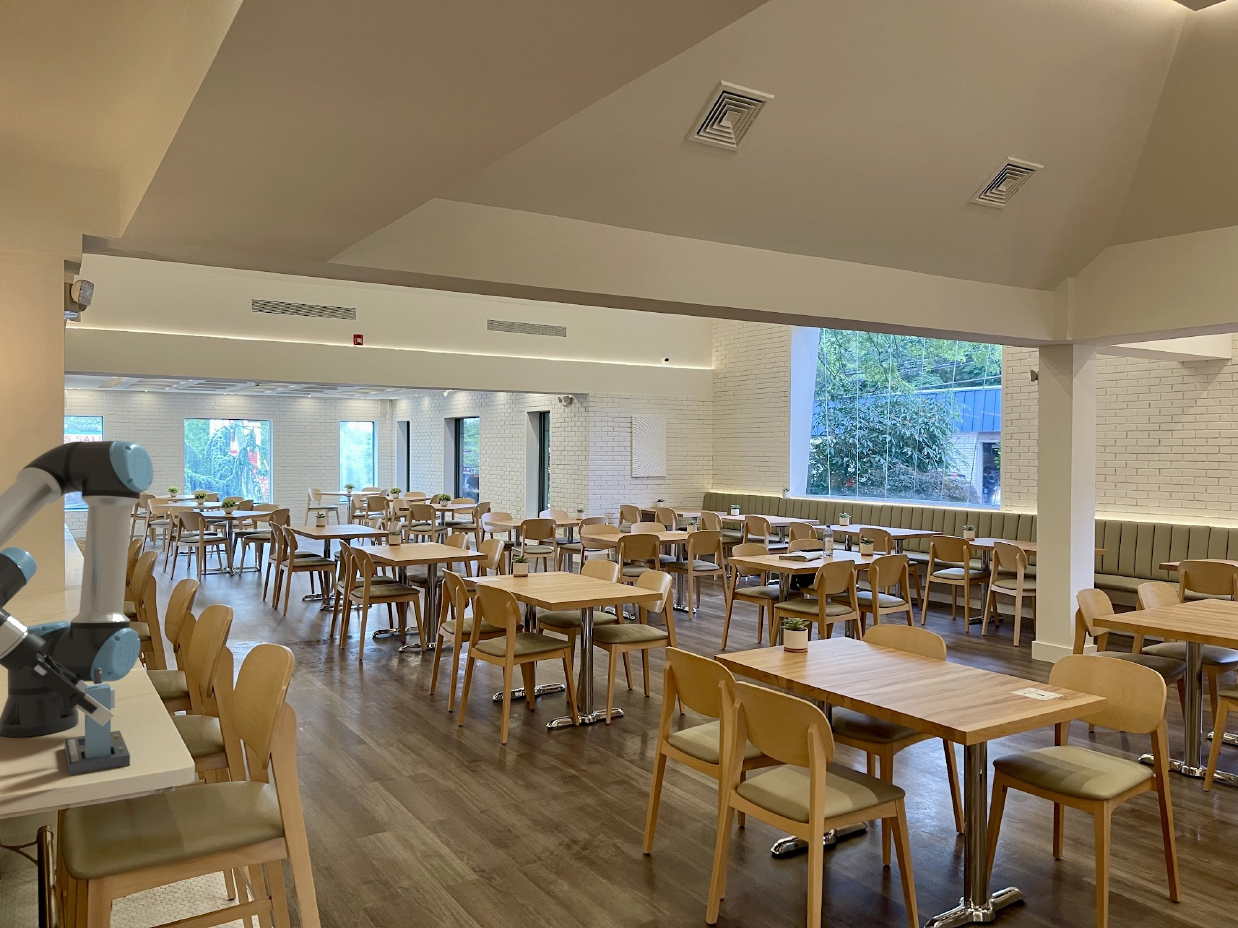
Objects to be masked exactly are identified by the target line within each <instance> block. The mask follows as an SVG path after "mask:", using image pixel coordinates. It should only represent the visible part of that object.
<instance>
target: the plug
mask: <svg viewBox="0 0 1238 928" xmlns="http://www.w3.org/2000/svg"><path fill="white" fill-rule="evenodd" d="M95 684H99V685H95ZM91 685H92V686H85V694H87V695H89V696H90V697H91V698H93V699H94V700H96V701H97V702H98V703H100V704H101V705H102V706H104V707H105V708H106V709H108V710H109V711H110V712H112V710H111V709H115V708H116V707H115V705H116V704H115V703H116V698H115V695H116V690H115V688H114V686H112V687H111V686H110V684H109V683H103V682H102V669H101V668H95V669H94V682H93V684H91ZM111 720H112V718H111V719H110V720H109V721H108V722H107V723H106V724H105V725H104V726H101V725H100V724H99V723H97V722H96V721H94V720H93V719H92V718H90V717H89V716H88V715H86V714H85V713H84V736H85V759H88V758H95V757H101V756H107V755H111V732H112V729H111V727H112V726H111V725H112V723H111Z"/></svg>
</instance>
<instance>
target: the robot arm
mask: <svg viewBox="0 0 1238 928" xmlns="http://www.w3.org/2000/svg"><path fill="white" fill-rule="evenodd" d="M15 479H16V481H15V482H14V483H12V484H11V485H10V487H8V488H7V489H6V490H5V491H3V493H2V494H1V495H0V550H1V549H2V548H3V547H4V546H5V545H6V543H8V542H9V541H10V540H11V539H12V538H13V537H14V536H15V535H17V533H18V532H19V531H20V530H21V529H22V528H23V527H24V526H25V525H27V524H28V522H29V521H31V519H33V517H35V516H36V515H37V513H39V512H40V511H41V510H42V509H43V508H44V507H45V506H47V504H53V503H55V502H57V501H58V500H59V499H60V498H61V497H62V496H64V495H67V494H70V493H77V492H78V493H81V500H82V501H83V502H84V503H85V504H86V505H87V507H88V508H87V519H86V531H85V532H86V533H85V540H84V541H85V542H84V544H85V545H84V554H83V564H82V565H83V568H82V578H81V590H80V601H79V613H78V614H77V615H75V617H73V618H72V619H71V620H70V622H69V621H68V620H61V621H59V620H58V621H51V622H45V623H38V624H35V625H34V624H33V625H28V626H27V625H26V624H24V623H23V622H21V620H19V619H18V618H17V617H15V616H13V615H12V614H11V613H9V612H8V611H7V610H5V609H4V608H3V607H5V606H6V604H7V603H8V602H9V601H11V600H12V598H14V596H16V594H18V593H19V592H20V590H22V588H23V587H26V586H27V584H28V583H29V581H30V580H31V579H32V578H33V576H34V575H35V574H36V572H37V569H38V568H37V567H38V566H37V565H38V564H37V562H36V560H35V559H34V557H33V556H32V554H31V553H29V552H28V551H27V550H24V549H23V548H20V547H16V546H8V547H6V548H3V549H2V550H1V551H0V666H2V667H4V668H5V669H6V670H7V698H6V701H5V703H4V706H3V708H2V711H1V714H0V736H3V737H10V738H15V737H16V738H21V737H33V736H35V737H36V736H41V735H47V734H48V733H49V734H53V733H57V732H62V731H65V730H67V729H70V728H73V727H76V725H78V724H79V720H80V719H79V718H80V717H79V711H81V712H82V713H84V715H85V714H86V715H88V716H89V717H90V718H92V719H93V720H94V721H96V722H97V723H99V724H100V725H101V726H104V725H105V724H106V723H107V722H108V721H109V720H110V719H111V720H112V718H113V717H114V716H115V713H113V712H112V711H111V712H110V711H109V710H108V709H106V708H105V707H104V706H102V705H101V704H100V703H98V702H97V701H96V700H94V699H93V698H91V697H90V696H89V695H87V694H85V686H89V685H90V684H87V683H89V682H93V683H94V669H95V668H101V669H102V683H104V682H109V683H110V682H116V681H120V680H122V679H123V678H125V677H126V676H128V674H129V673H130V672H131V670H133V668H134V666H135V665H136V663H137V662H138V661H137V660H138V658H139V656H140V655H139V654H140V650H141V639H140V637H139V634H138V632H137V631H136V630H134V629H133V628H130V626H131V625H130V624H131V619H130V618H129V617H128V616H127V615H125V613H124V605H125V595H126V581H127V569H128V557H129V555H128V554H129V543H130V530H131V519H132V508H133V507H134V506H135V505H136V504H138V503H139V502H140V500H141V493H143V492H145V491H147V490H149V488H150V487H151V486H150V485H152V483H153V480H154V465H153V461H152V459H151V457H150V455H149V454H148V452H147V450H146V449H145V448H144V447H143V446H142V445H141V444H139V443H137V442H134V441H124V440H123V441H122V440H105V441H104V440H103V441H101V440H99V441H83V440H82V441H71V442H65V443H63V444H61V445H57V446H55V447H53V448H51V449H49V450H47V451H46V452H44V453H42V454H40V455H39V456H37V457H36V458H35V459H33V460H31V461H30V462H29V463H28V464H26V466H24V467H23V468H22V469H21V470H20V471H18V472H17V475H16V478H15Z"/></svg>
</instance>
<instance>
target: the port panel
mask: <svg viewBox="0 0 1238 928" xmlns="http://www.w3.org/2000/svg"><path fill="white" fill-rule="evenodd" d="M64 752H65V757H66V763H67V769H68V774H69V776H73V775H79V774H86V773H91V772H98V771H103V770H104V771H105V770H110V769H115V768H120V767H128V766H130V765H131V760H130V759H131V757H130V756H131V755H130V752H129V750H128V747H127V745H126V743H125V740H124V737H123V735H122V732H121V730H115V731H111V755H107V756H101V757H95V758H88V759H85V735H81V736H75V737H74V736H73V737H67V738H66V737H65V738H64Z"/></svg>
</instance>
